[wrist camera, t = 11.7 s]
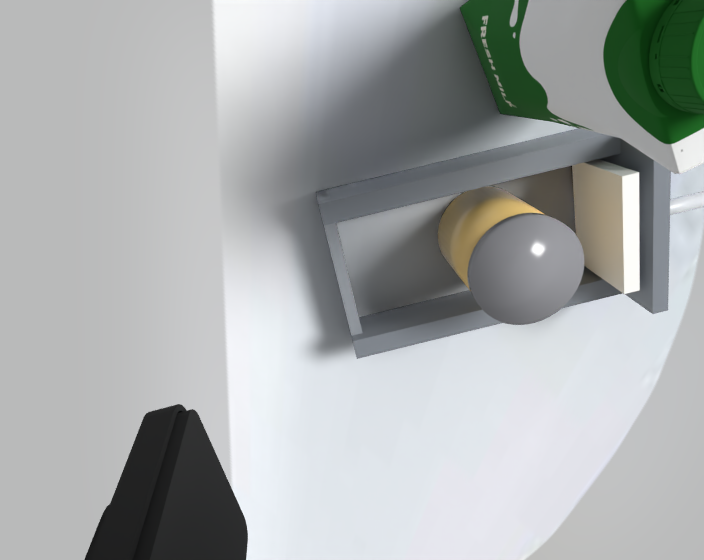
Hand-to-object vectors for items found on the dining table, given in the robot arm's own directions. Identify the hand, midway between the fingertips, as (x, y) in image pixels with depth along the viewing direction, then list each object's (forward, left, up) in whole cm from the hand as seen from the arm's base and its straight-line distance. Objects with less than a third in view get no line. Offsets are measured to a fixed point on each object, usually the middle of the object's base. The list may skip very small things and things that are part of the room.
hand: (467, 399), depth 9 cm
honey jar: (+8, +9, -28) cm, 30 cm away
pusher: (+8, +19, -27) cm, 34 cm away
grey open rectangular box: (+8, +7, -27) cm, 29 cm away
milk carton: (-4, +13, -28) cm, 31 cm away
